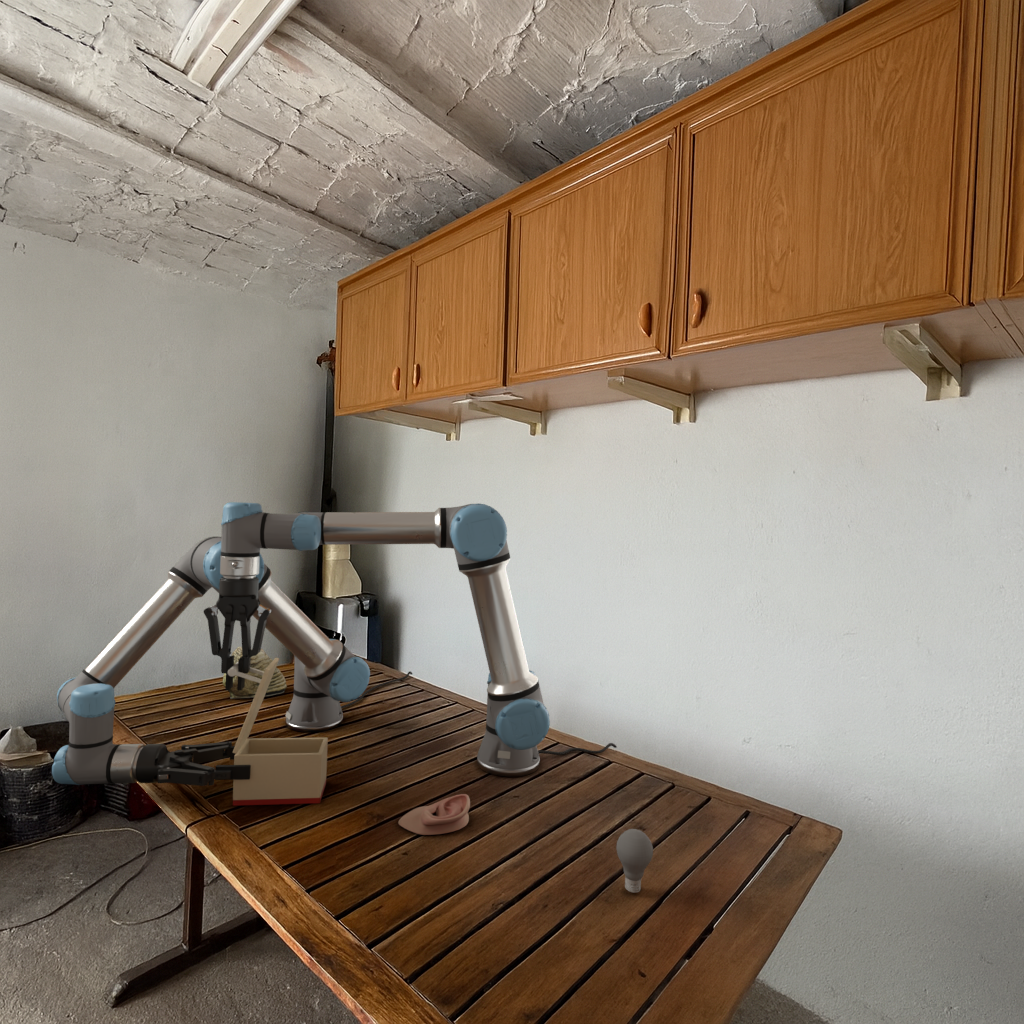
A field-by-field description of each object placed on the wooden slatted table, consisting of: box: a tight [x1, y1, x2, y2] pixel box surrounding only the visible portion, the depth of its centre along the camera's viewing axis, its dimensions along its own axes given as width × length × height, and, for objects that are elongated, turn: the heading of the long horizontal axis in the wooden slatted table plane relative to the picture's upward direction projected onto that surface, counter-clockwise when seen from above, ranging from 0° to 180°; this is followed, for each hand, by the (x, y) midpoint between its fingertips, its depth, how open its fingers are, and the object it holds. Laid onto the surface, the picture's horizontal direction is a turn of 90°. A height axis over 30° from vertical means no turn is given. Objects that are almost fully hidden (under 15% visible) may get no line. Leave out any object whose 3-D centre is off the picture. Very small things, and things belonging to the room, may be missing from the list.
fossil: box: [222, 646, 288, 699], centre depth 198 cm, size 9×18×15 cm, turn 132°
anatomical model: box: [397, 793, 471, 836], centre depth 125 cm, size 13×4×12 cm
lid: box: [228, 657, 280, 754], centre depth 133 cm, size 18×9×8 cm
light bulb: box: [615, 828, 654, 894], centre depth 106 cm, size 6×6×10 cm
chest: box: [232, 737, 329, 807], centre depth 134 cm, size 17×9×10 cm, turn 99°
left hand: (256, 761), depth 133 cm, fingers closed on chest, 9 cm apart
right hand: (235, 688), depth 132 cm, fingers closed on lid, 2 cm apart
